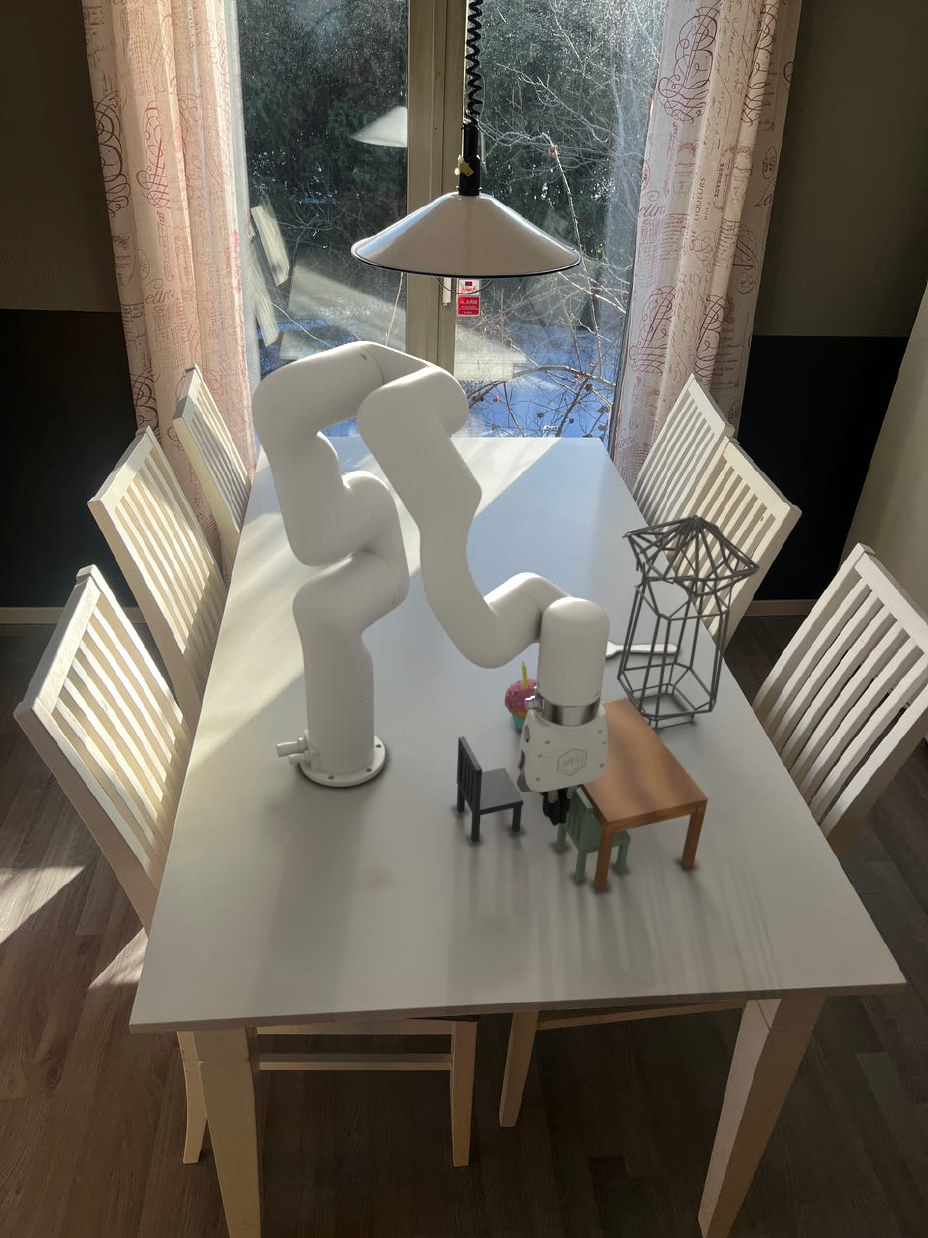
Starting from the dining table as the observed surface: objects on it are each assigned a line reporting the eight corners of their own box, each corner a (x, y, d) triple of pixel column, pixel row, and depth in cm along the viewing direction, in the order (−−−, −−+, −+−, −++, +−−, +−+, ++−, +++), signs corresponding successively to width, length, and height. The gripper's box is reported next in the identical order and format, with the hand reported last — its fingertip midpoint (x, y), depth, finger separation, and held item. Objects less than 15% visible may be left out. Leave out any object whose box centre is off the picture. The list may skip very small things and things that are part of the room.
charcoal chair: (472, 843, 132) (476, 770, 126) (455, 808, 138) (458, 737, 131) (520, 832, 135) (527, 760, 128) (502, 798, 140) (507, 727, 133)
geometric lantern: (683, 679, 166) (719, 489, 148) (728, 737, 154) (773, 537, 135) (596, 691, 163) (622, 497, 144) (634, 752, 150) (668, 548, 131)
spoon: (679, 658, 172) (680, 655, 171) (576, 657, 171) (577, 655, 170) (673, 641, 176) (673, 638, 176) (572, 640, 175) (573, 638, 175)
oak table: (597, 891, 126) (607, 822, 120) (531, 780, 144) (537, 715, 137) (693, 866, 131) (708, 798, 124) (617, 761, 148) (627, 697, 142)
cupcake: (512, 743, 151) (517, 679, 144) (495, 710, 158) (500, 647, 151) (565, 735, 153) (572, 672, 146) (546, 702, 160) (552, 641, 153)
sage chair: (577, 882, 127) (587, 808, 120) (555, 844, 133) (563, 771, 126) (625, 870, 129) (638, 796, 123) (602, 833, 135) (612, 761, 128)
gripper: (519, 731, 109) (510, 851, 119) (640, 707, 114) (621, 825, 124) (495, 692, 115) (488, 809, 125) (611, 671, 120) (595, 786, 130)
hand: (554, 817), depth 124 cm, fingers closed
